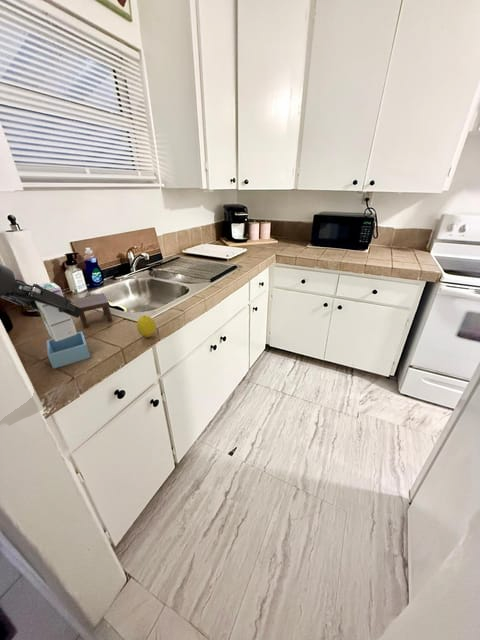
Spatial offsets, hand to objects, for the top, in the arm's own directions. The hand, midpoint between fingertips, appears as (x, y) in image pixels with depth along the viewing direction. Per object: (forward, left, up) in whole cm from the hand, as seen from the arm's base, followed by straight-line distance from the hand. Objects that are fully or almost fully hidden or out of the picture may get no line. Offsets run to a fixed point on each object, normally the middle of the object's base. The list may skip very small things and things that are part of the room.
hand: (66, 311), depth 74 cm
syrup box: (+2, -2, -6) cm, 7 cm away
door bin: (+3, -2, -13) cm, 13 cm away
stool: (-17, +8, -13) cm, 23 cm away
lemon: (+6, +20, -13) cm, 24 cm away
